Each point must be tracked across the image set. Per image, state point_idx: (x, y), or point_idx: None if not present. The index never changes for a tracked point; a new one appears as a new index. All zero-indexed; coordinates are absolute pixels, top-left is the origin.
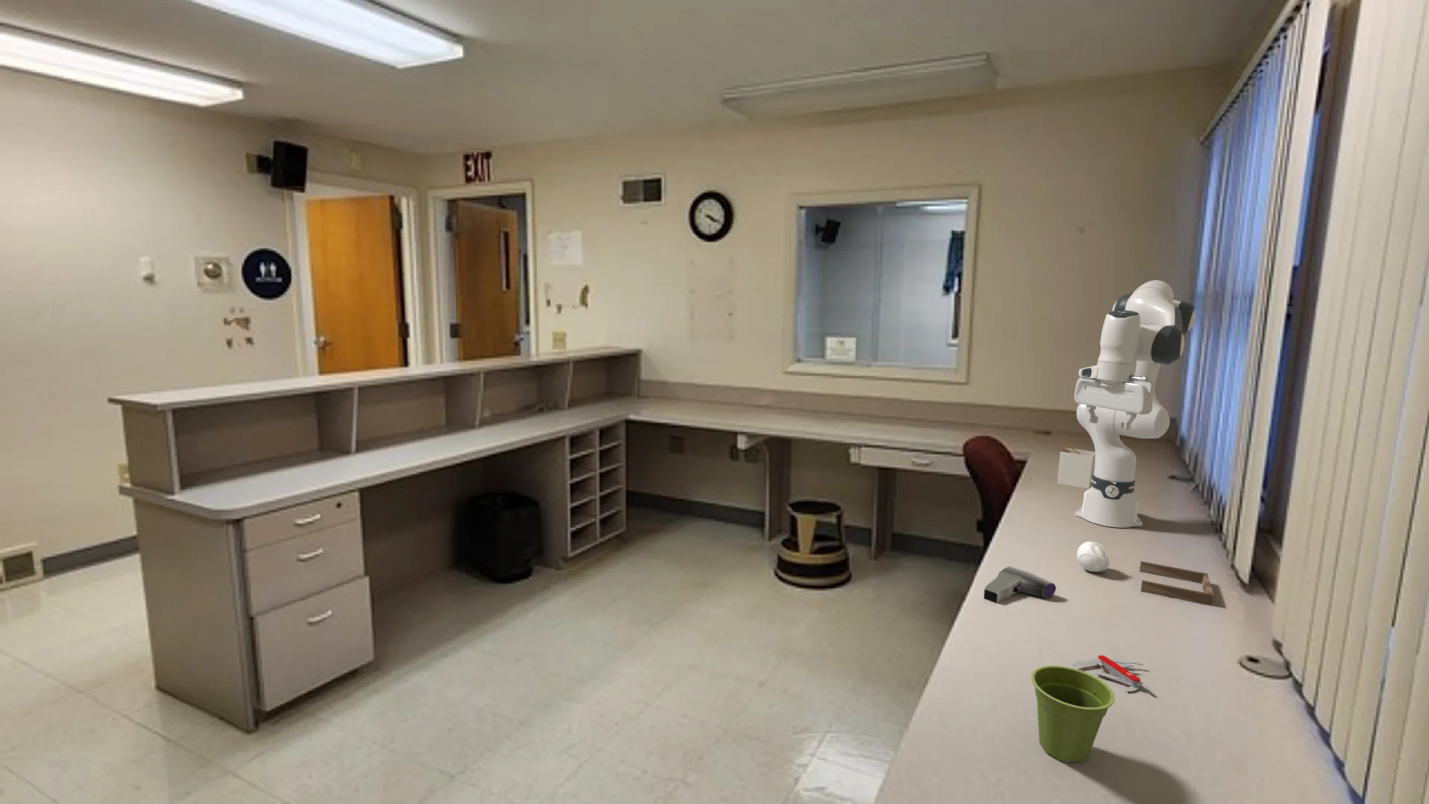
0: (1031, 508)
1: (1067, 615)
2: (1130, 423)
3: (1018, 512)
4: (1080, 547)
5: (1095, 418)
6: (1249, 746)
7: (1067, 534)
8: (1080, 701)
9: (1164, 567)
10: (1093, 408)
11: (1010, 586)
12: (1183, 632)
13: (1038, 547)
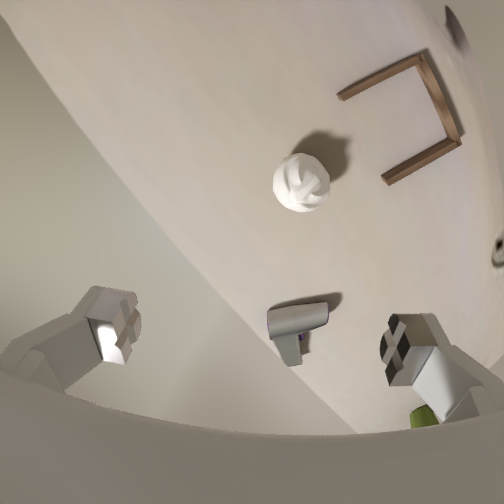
0: (38, 33)
1: (360, 320)
2: (446, 346)
3: (43, 70)
4: (285, 205)
5: (119, 331)
6: (491, 346)
7: (151, 59)
8: (427, 422)
9: (375, 84)
10: (53, 385)
11: (299, 347)
12: (452, 249)
13: (182, 169)
